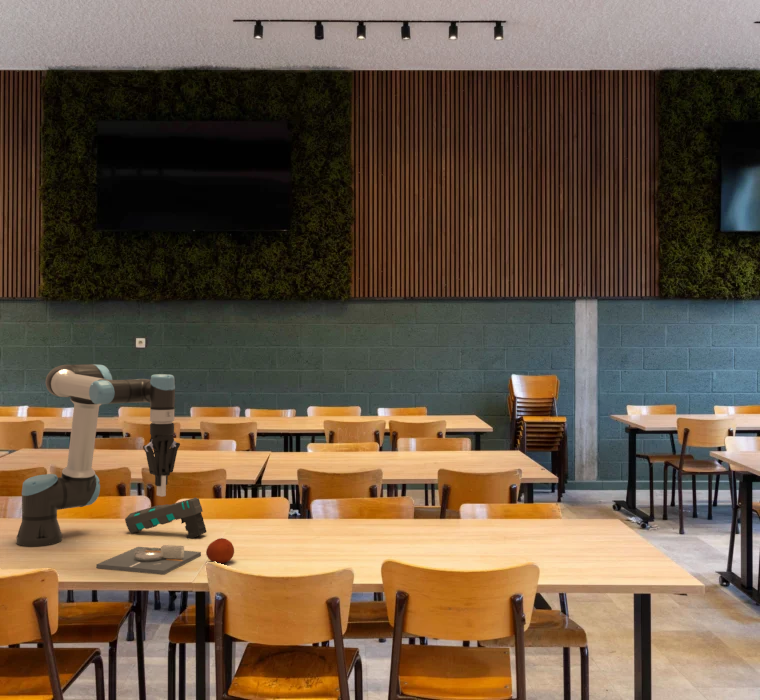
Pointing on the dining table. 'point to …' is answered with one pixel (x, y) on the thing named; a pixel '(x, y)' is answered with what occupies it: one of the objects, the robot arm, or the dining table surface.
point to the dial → (159, 553)
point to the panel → (156, 567)
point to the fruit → (220, 550)
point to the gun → (169, 517)
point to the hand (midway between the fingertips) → (161, 495)
